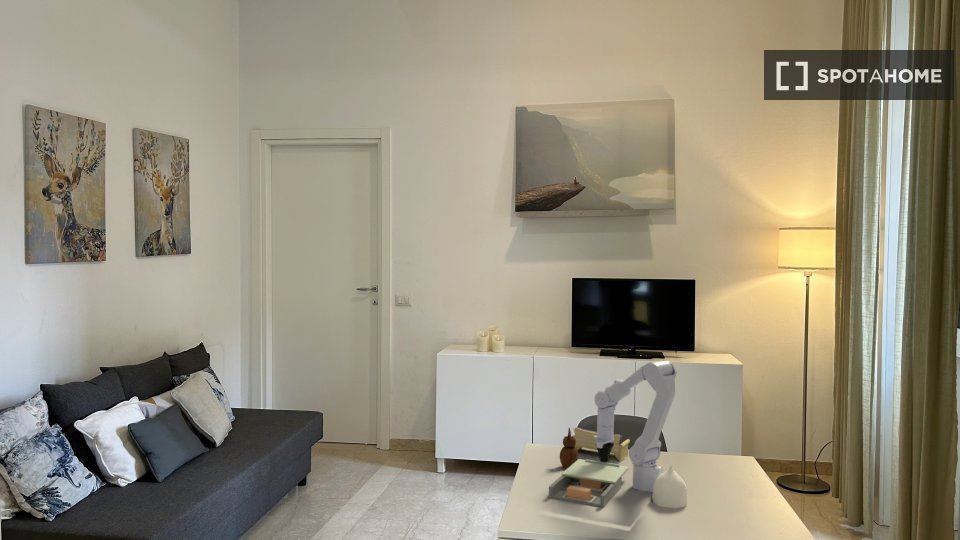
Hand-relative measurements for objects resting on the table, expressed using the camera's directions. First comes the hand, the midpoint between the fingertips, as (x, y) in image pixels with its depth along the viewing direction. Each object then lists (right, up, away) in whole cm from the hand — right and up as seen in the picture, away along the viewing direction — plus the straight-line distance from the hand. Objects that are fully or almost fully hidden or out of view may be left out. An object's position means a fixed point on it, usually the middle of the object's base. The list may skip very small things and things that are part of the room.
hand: (604, 463), depth 267 cm
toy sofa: (+3, -4, +28) cm, 29 cm away
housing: (-9, -6, -19) cm, 22 cm away
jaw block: (-12, -5, -25) cm, 28 cm away
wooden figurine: (-11, -4, +11) cm, 16 cm away
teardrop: (+17, -7, -23) cm, 29 cm away
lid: (-4, 0, -9) cm, 10 cm away
